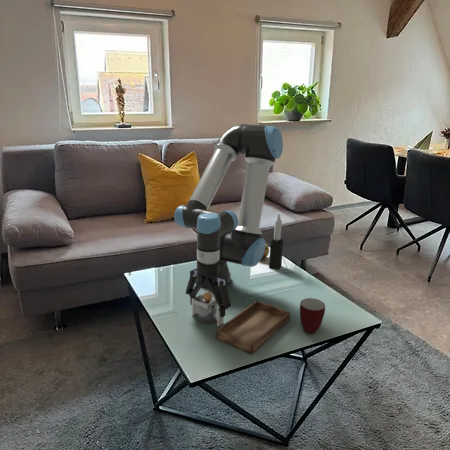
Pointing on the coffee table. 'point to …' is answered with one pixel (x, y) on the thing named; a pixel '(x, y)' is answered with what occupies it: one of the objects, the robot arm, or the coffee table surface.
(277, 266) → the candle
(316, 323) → the mug
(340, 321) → the coffee table surface
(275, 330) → the tray
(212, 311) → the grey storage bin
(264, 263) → the coffee table surface
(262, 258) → the fruit
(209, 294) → the ball
